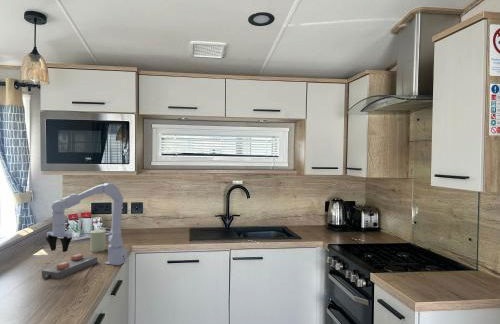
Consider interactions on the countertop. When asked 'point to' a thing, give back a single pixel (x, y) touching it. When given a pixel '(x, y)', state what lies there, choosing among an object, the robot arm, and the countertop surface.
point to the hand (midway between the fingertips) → (59, 250)
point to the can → (97, 240)
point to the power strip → (69, 267)
